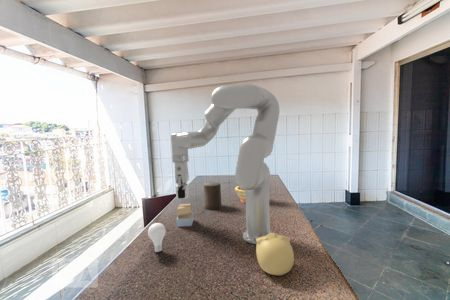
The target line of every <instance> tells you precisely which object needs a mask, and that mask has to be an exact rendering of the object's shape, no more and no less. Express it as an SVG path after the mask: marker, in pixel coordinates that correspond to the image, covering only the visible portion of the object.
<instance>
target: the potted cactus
mask: <svg viewBox="0 0 450 300" xmlns="http://www.w3.org/2000/svg"><path fill="white" fill-rule="evenodd" d="M234 190H235V193H236V194H237V196H238V198H239V199H240V202H241V203H244V204H246V203H245V190H244V189H242V188H240V187H239V186H238V185H237V186H235V188H234Z"/></svg>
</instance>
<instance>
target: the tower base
mask: <svg viewBox="0 0 450 300" xmlns="http://www.w3.org/2000/svg"><path fill="white" fill-rule="evenodd" d="M175 220H176V221H175V222H176V227H177V228H178V227H192V226H193V222H194V220H195V219H194V213H193V212H192V215H191V218H184V219H178V216H177V217H176V219H175Z"/></svg>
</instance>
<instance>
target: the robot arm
mask: <svg viewBox="0 0 450 300" xmlns="http://www.w3.org/2000/svg"><path fill="white" fill-rule="evenodd" d="M210 99H211V101H210V102H211V103H212V104H211V105H210V106H209V107H208V108H207V109H206V110H205V111H204V118H205V120H206V122H205V124H204V125H202V127H201V128H200V129H199V130H198V131H197V130H195V131H187V132H186V131H185V132H173V133H171V135H170V144H171V157H172V158H171V159H172V163H173V164H174V178H175V179H174V180H175V181H174V182H175V184H176V185H177V184H178V198H185V189H184V184H188V181H189V180H190V177H189V166H188V163H189V160H190V159H189V150H192V149H197V148H202V147H204V146H206V145H207V144H208V143H210V141H211V140H212V139H213V138H214V137H215V136H216V135H217V133H218V131H219V129H220V126H221V125H222V124H223V123H224V122H225V121H226V120H227V119H228V118H229V117H230V115H231V114H233V112H235V111H236V110H239V109H240V110H241V109H244V110H245V109H249V110H256V111H257V116H256V118H255V119H254V120H255V121H254V126H253V130H252V135H249V136H247V137H245V138H244V139H243V140H242V142H241V144H240V147H239V152H238V157H237V161H236V167H235V173H234V174H235V175H234V177H235V182H236V184H237V186H239V187H240V188H242V189H244V190H245V203H244V204H245V226H246V230H245V231H244V232H243V233H242V238H243V240H244V241H245V242H247V243H250V244H253V245H256V244H257V242H256V239H257V238H259V237H263V236H267V235H268V234H270V233H274V232H273V231H272V230H271V219H270V181H271V172H270V168H269V166H268V165H267V163H265V159H266V158H268V157H269V156H270V155H271V154H272V152H273V148H274V142H275V137H276V133H277V127H278V122H279V118H280V104H279V101H278V99H277V98H276V96H275V95H274V94H273V93H272V92H271V91H270V90H267V89H266V88H264V87H261V86H259V85H256V84H253V83H244V84H243V83H241V84H230V85H220V86H218V87H216V88H215V89H214V90H213V91H212V93H211V97H210ZM181 184H182V185H181Z"/></svg>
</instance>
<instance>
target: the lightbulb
mask: <svg viewBox="0 0 450 300" xmlns="http://www.w3.org/2000/svg"><path fill="white" fill-rule="evenodd" d="M147 235H148V238H149V239H150V240H151V241H152V244H153V247H154V252H156V253H160V252H161V251H162V250H163V248H162V247H163V246H162V245H163V239H164V237H165V235H166V227H165V225H164V224H163V223H161V222H155V223H152V224H151V225H150V226H149V228H148V230H147Z"/></svg>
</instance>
